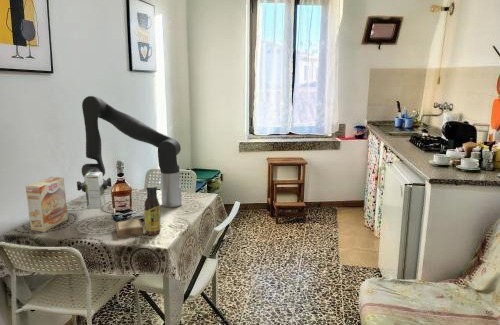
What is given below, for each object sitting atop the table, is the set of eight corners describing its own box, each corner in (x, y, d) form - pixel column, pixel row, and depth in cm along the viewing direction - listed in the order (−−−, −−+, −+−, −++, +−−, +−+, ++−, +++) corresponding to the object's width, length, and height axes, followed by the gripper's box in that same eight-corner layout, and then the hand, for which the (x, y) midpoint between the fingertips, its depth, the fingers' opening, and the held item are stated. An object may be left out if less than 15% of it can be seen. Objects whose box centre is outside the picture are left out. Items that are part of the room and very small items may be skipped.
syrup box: (91, 204, 160) (87, 172, 157) (106, 204, 160) (102, 171, 157) (87, 209, 154) (83, 175, 151) (102, 208, 155) (98, 175, 151)
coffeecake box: (44, 232, 155) (39, 186, 151) (30, 230, 156) (24, 185, 152) (68, 219, 169) (64, 177, 165) (55, 217, 171) (50, 176, 166)
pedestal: (140, 225, 162) (139, 218, 162) (143, 234, 153) (142, 226, 153) (115, 228, 159) (115, 221, 158) (117, 237, 150) (117, 230, 149)
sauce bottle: (152, 237, 151) (150, 189, 146) (142, 233, 154) (139, 187, 149) (164, 231, 156) (162, 185, 152) (153, 228, 159) (151, 183, 155)
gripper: (75, 172, 165) (74, 182, 150) (110, 169, 170) (112, 177, 155) (77, 188, 166) (76, 199, 152) (111, 185, 172) (114, 195, 157)
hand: (94, 188), depth 153 cm, fingers closed on syrup box, 7 cm apart
